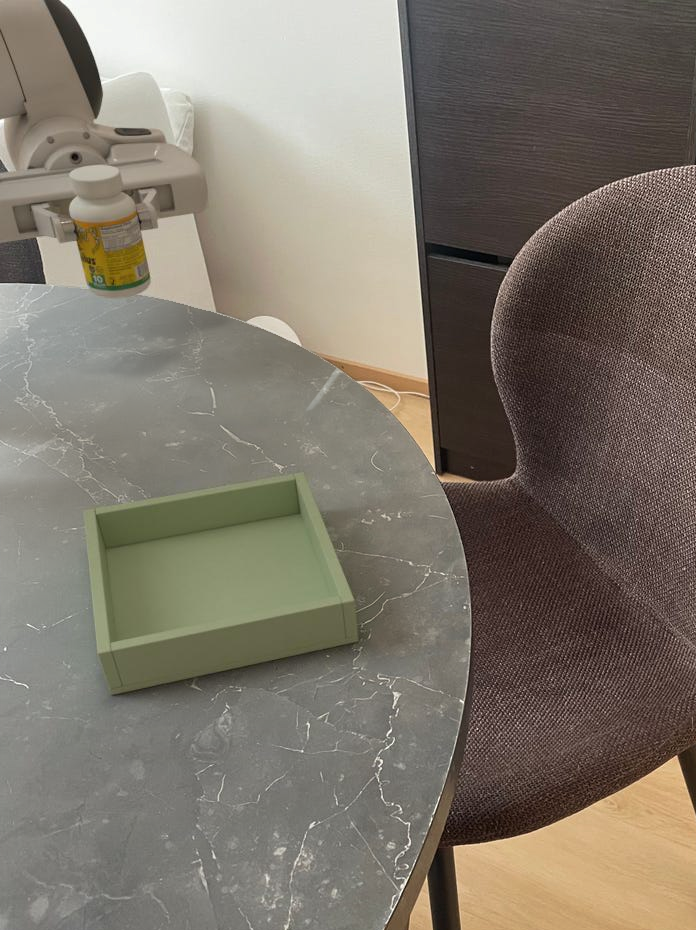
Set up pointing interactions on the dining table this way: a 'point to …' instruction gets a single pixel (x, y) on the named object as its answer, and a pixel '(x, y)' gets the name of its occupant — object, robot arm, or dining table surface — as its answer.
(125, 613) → the tray
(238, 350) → the dining table surface
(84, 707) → the dining table surface
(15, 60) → the robot arm
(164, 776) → the dining table surface
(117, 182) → the supplement bottle
